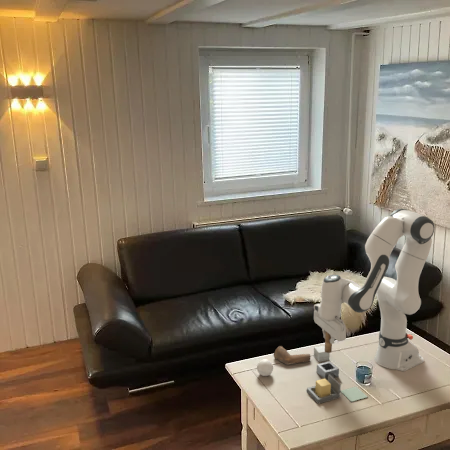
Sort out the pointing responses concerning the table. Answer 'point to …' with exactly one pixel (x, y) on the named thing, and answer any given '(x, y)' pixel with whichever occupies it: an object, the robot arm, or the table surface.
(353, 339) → the table surface
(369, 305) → the robot arm
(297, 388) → the table surface
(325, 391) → the block
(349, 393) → the pad
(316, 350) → the small box
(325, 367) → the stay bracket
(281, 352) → the pipe
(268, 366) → the white ovoid
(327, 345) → the rod
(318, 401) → the case
